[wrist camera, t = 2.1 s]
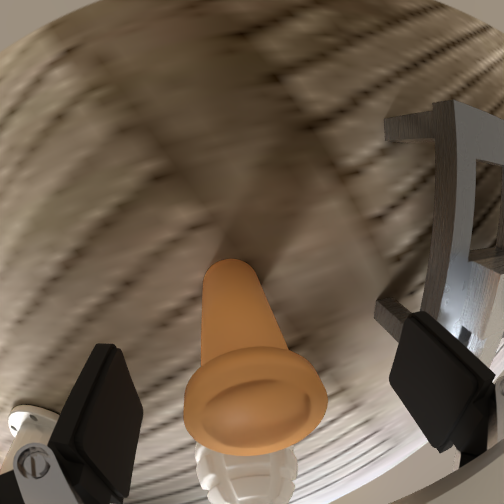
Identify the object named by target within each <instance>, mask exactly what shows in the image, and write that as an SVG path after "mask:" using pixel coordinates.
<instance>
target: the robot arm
mask: <svg viewBox="0 0 504 504" xmlns="http://www.w3.org/2000/svg"><path fill="white" fill-rule="evenodd" d="M494 377H495V374H494V373H493V372H492V371H491V370H490V369H489V368H488V367H487V366H486V365H485V364H484V363H483V362H482V361H481V360H480V359H479V358H478V357H476V356H475V355H474V354H473V353H472V352H471V351H470V350H469V349H468V348H467V347H466V346H465V345H463V344H462V343H461V342H460V341H459V340H458V339H457V338H456V337H455V336H453V335H452V334H451V333H450V332H449V331H448V330H447V329H446V328H444V327H443V326H442V325H441V324H440V323H439V322H438V321H436V320H435V319H434V318H433V317H432V316H431V315H429V314H428V313H427V312H426V311H419V312H415V313H411V314H409V315H408V317H407V319H405V321H404V324H403V328H402V333H401V337H400V340H399V344H398V348H397V352H396V355H395V359H394V362H393V366H392V369H391V372H390V375H389V382H390V385H391V386H392V388H393V389H394V391H395V392H396V394H397V395H398V396H399V398H400V399H401V401H402V402H403V404H404V405H405V407H406V408H407V410H408V411H409V413H410V414H411V416H412V417H413V419H414V420H415V421H416V423H417V424H418V426H419V427H420V429H421V430H422V432H423V434H424V435H425V437H426V438H427V440H428V441H429V443H430V444H431V446H433V447H434V448H437V450H438V451H439V453H442V452H444V451H446V450H448V449H449V448H451V447H452V446H453V444H454V445H455V447H456V453H455V459H454V466H453V470H452V473H451V474H449V475H447V476H446V477H444V478H442V479H440V480H439V481H437V482H435V483H433V484H431V485H429V486H427V487H425V488H423V489H421V490H419V491H417V492H415V493H412V494H410V495H408V496H406V497H404V498H401V499H399V500H397V501H394V502H392V503H389V504H504V376H502V377H500V378H499V379H498V380H497V381H496V383H495V385H494V384H493V383H492V381H493V379H494ZM142 418H143V407H142V404H141V402H140V399H139V397H138V394H137V392H136V389H135V387H134V384H133V382H132V379H131V376H130V373H129V371H128V368H127V365H126V362H125V359H124V356H123V353H122V351H121V349H119V348H116V346H115V345H114V344H96V345H95V347H94V349H93V351H92V352H91V354H90V356H89V358H88V360H87V362H86V364H85V366H84V368H83V370H82V371H81V373H80V375H79V377H78V379H77V381H76V383H75V385H74V387H73V389H72V391H71V393H70V395H69V397H68V399H67V401H66V403H65V405H64V407H63V410H62V412H61V414H60V415H58V414H56V413H54V412H52V411H49V410H46V409H43V408H40V407H36V406H32V405H19V406H16V407H15V408H13V410H12V411H11V413H10V414H9V417H8V425H9V428H10V430H11V433H12V434H13V436H14V441H13V443H12V445H11V447H10V449H9V451H8V453H7V455H6V458H5V460H4V462H3V464H2V467H1V469H0V504H110V503H115V504H123V498H127V497H128V495H129V490H130V484H131V477H132V471H133V465H134V460H135V454H136V449H137V443H138V438H139V433H140V428H141V423H142Z"/></svg>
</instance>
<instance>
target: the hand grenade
mask: <svg viewBox="0 0 504 504" xmlns="http://www.w3.org/2000/svg"><path fill="white" fill-rule="evenodd" d="M293 449H294V446H293V445H291V446H289V447H287V448H284V449H282V450H279V451H276V452H272V453H268V454H263V455H255V456H235V455H228V454H223V453H219V452H216V451H213V450H211V449H209V448H206V447H205V446H203V445H201V444H200V443H198V442H197V443H196V448H195V459H196V462H197V464H198V465H197V467H196V472H197V476H198V479H199V482H200V484H201V487H202V489H203V490H209V492H208V494H207V497H208V500H209V501H210V502H211V503H212V504H288V502H289V500H290V499H291V497H292V495H293V492H294V489H295V485H294V483H293V482H292V481H293V480H296V477H297V468H298V466H297V458H296V457H295V455H294V453H293Z"/></svg>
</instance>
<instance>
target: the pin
mask: <svg viewBox="0 0 504 504" xmlns="http://www.w3.org/2000/svg"><path fill="white" fill-rule="evenodd" d="M327 404H328V397H327V393H326V390H325V387H324V385H323V384H322V382H321V380H320V378H319V376H318V374H317V372H316V370H315V369H314V367H313V366H312V365H311V363H310V362H309V361H307V360H306V359H305V358H304V357H302V356H300V355H299V354H297V353H294V352H292V351H289V349H288V347H287V345H286V342H285V340H284V338H283V335H282V333H281V331H280V328H279V326H278V324H277V321H276V319H275V317H274V315H273V312H272V310H271V308H270V305H269V303H268V301H267V298H266V296H265V294H264V291H263V289H262V287H261V284H260V282H259V280H258V277H257V275H256V273H255V271H254V270H253V268H252V267H251V266H250V265H248V264H247V263H245V262H244V261H241V260H238V259H225V260H221V261H219V262H217V263H215V264H214V265H212V266H211V267H210V268H209V269H208V271H207V272H206V274H205V276H204V280H203V294H202V326H201V367H200V368H199V369H198V370H197V371H196V372H195V373H194V374H193V376H192V377H191V379H190V380H189V382H188V384H187V386H186V390H185V395H184V416H183V419H184V424H185V427H186V429H187V431H188V432H189V434H190V435H191V436H192V437H193V438H194V439H195V440H196V441H197V442H198V443H200V444H201V445H203V446H205V447H206V448H209V449H211V450H213V451H216V452H219V453H223V454H228V455H235V456H255V455H263V454H268V453H272V452H276V451H279V450H282V449H284V448H287V447H289V446H291V445H293V444H295V443H297V442H299V441H300V440H302V439H303V438H305V437H306V436H307V435H309V434H310V433H311V432H312V431H313V430H314V429H315V428H316V427H317V426H318V424H319V423H320V422H321V420H322V419H323V417H324V415H325V412H326V409H327Z"/></svg>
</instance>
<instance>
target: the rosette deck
mask: <svg viewBox="0 0 504 504" xmlns="http://www.w3.org/2000/svg"><path fill="white" fill-rule="evenodd" d="M384 128H385V141H392V142H400V143H410V142H435V157H436V174H435V203H434V218H433V230H432V239H431V248H430V256H429V263H428V270H427V276H426V282H425V288H424V293H423V298H422V303H421V308H420V311H426V312H427V313H428V314H429V315H431V316H432V317H433V318H434V319H435V320H436V321H438V322H439V323H440V324H441V325H442V326H443V327H444V328H446V329H447V330H448V331H449V332H450V333H451V334H452V335H453V336H455V337H456V338H457V339H458V340H459V341H460V342H461V343H462V344H463V345H465V346H466V347H467V348H468V349H469V350H470V351H471V352H472V353H473V354H474V355H475V356H476V357H478V358H479V359H480V360H481V361H482V362H483V363H484V364H485V365H486V366H487V367H488V368H489V367H490V365H491V363H492V360H493V358H494V356H495V353H496V351H497V348H498V346H499V343H500V340H501V339H502V338H503V337H504V120H503V119H500V118H498V117H496V116H494V115H491V114H489V113H487V112H484V111H482V110H479V109H477V108H474V107H472V106H469V105H467V104H464V103H461V102H459V101H456V100H448V101H442V102H436V103H433V111H428V112H421V113H415V114H409V115H403V116H397V117H392V118H387V119H384ZM476 161H479V162H483V163H488V164H492V165H497V166H501V167H502V191H501V207H500V218H499V227H498V235H497V242H496V247H491V248H484V249H477V250H470V243H471V235H472V227H473V217H474V204H475V186H476ZM469 250H470V251H469ZM409 314H411V312H410V311H409V310H408V309H406V308H405V307H404V306H403V305H401V304H400V303H399V302H398V301H396V300H395V299H394V298H393V297H392V298H387V299H382V300H377V301H376V308H375V314H374V319H375V320H376V321H377V322H378V323H379V324H380V325H381V326H382V327H383V328H384V329H385V330H386V331H387V332H388V333H389V334H390V335H391V336H392V337H393V338H394V339H395V340H396V341H397V342H398V343H399V340H400V337H401V333H402V328H403V324H404V321H405V319H407V317H408V315H409Z"/></svg>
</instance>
